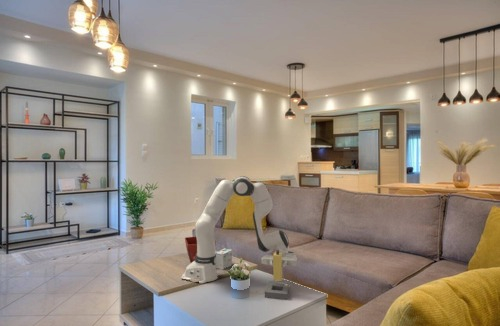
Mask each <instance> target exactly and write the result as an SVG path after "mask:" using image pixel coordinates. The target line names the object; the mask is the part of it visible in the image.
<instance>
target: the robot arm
mask: <svg viewBox="0 0 500 326" xmlns="http://www.w3.org/2000/svg"><path fill="white" fill-rule="evenodd" d="M235 194H236V195H237V196H238V197H239V196H240V197H248V196H250V197H251V200H252V201H253V204H254V211H253V212H252V221H253V225H254V230H255V236H256V241H257V248H258V250H260V251H261V252H263V253H267V252H269V251H271V250H274V249H275V251H274V253H276V250H277V249H278V250H279V253H282V268H285V267H297V266H298V258H297V255H296V252H294V251H291V249H290V246H289V244H290V241H289V238H288V235H287V234H286V233H285V232H284V231H283V230H281V229H279V230H275V231H273V232H269V233H266V234H264V230H263V226H262V220H263V218H264V217H266V216H267V215H268V214H270V212H271V211H272V210H273V206H274V203H273V199H272V196H271V194H270V191H269V190H268V189H267V186H266V185H265V184H264V183H263V182H255V183H253V182H252V181H251V179H250V178H249V177H247V176H246V175H245V176H244V175H241V176H238V177H237V178H235V179H233V180H229V179H222V180H221V181H220V182H219V183H218V184H217V186H216V187H215V189H214V190H213V192H212V194H211V195H210V198H209V200H208V202H207V203H206V206H205V208H204V209H203V212H201V215H200V216H199V218H198V219H197V220H196V222H195V225H194V226H195V227H194V229H195V237H196V238H197V254H196V255H195V257H194V259H195V261H193V262H192V263H191V262H190V263H189V264H188V265H187V266H186V268H185V271H184V273H183V274H182V275H181V278H183V279H191V278H194V279H199V280H201V281H199V283H198V284H206V283H207V282H213V281H215V280H218V278H219V275H218V271H217V268H216V245H215V241H216V238H215V228H216V225H217V223H218V221H219V219H220V218H221V216H222V215H223V212H224V211H225V209H226V208H227V206H228V204H229V201H230V200H231V198H232V197H233V195H235ZM260 262H261V264H262V265H266V266H267V265H269V266H270V267H272V268H273V254H264V255H263V256H262V257H261V261H260ZM217 276H218V277H217Z"/></svg>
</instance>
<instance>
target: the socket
mask: <svg viewBox="0 0 500 326" xmlns="http://www.w3.org/2000/svg"><path fill="white" fill-rule="evenodd" d="M289 292H290V284H289V283H288V284H287V283H285V284H284V283H278V282H276V283H274V282H267V285H266V287H265V289H264V298H267V299H268V298H269V299H277V300H286V301H287V300H288V298H289Z"/></svg>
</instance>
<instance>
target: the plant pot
mask: <svg viewBox="0 0 500 326" xmlns="http://www.w3.org/2000/svg"><path fill="white" fill-rule="evenodd" d="M184 242H185V248H186V252H187V256H188V259H189V262H190V264H191V263H192V262H193V261H195V259H194V257H195V255H196V254H197V238H196V236H186V237H184ZM216 245H217V243H216V240H215V246H216Z"/></svg>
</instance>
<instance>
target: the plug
mask: <svg viewBox="0 0 500 326" xmlns="http://www.w3.org/2000/svg"><path fill="white" fill-rule="evenodd" d="M275 251H276V253H275V252H273V254H272V255H273V267H272V270H273V271H272V273H273V274H272V275H273V277H272V278H273V279H272V281H278V282H282V281H283V267H282V253H279V250H278V249H277V250H276V249H275Z"/></svg>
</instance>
